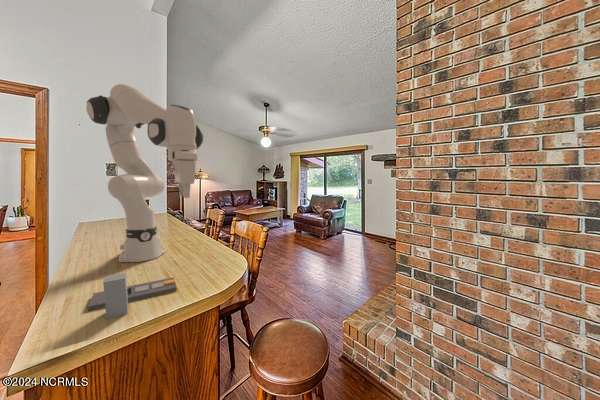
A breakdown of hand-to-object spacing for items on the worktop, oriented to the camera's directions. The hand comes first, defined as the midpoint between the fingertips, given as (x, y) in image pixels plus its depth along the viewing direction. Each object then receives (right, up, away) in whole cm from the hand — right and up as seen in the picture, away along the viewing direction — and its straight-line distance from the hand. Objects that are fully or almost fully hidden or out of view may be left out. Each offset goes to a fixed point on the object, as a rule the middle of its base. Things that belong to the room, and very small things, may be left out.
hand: (184, 196), depth 82 cm
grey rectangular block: (-11, -33, -16) cm, 38 cm away
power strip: (-12, -32, -6) cm, 35 cm away
